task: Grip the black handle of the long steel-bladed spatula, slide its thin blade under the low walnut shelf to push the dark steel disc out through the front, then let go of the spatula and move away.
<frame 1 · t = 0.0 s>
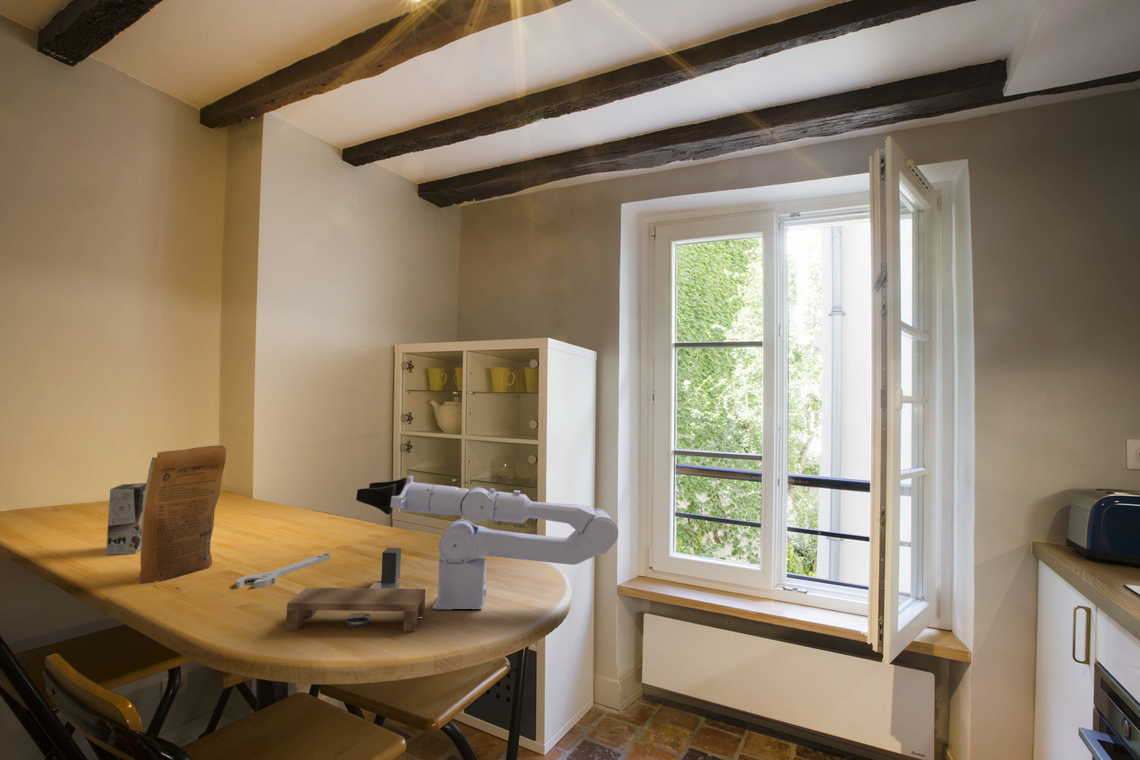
hand: (363, 491, 113), 22 cm above the table, tool horizontal, fingers open, 7 cm apart
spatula: (390, 582, 124), on the table
coffee box: (127, 550, 143), on the table
adjustable wrench: (290, 574, 129), on the table
steel disc: (358, 623, 102), on the table
walnut shelf: (358, 622, 102), on the table
pancake mix bag: (180, 574, 126), on the table
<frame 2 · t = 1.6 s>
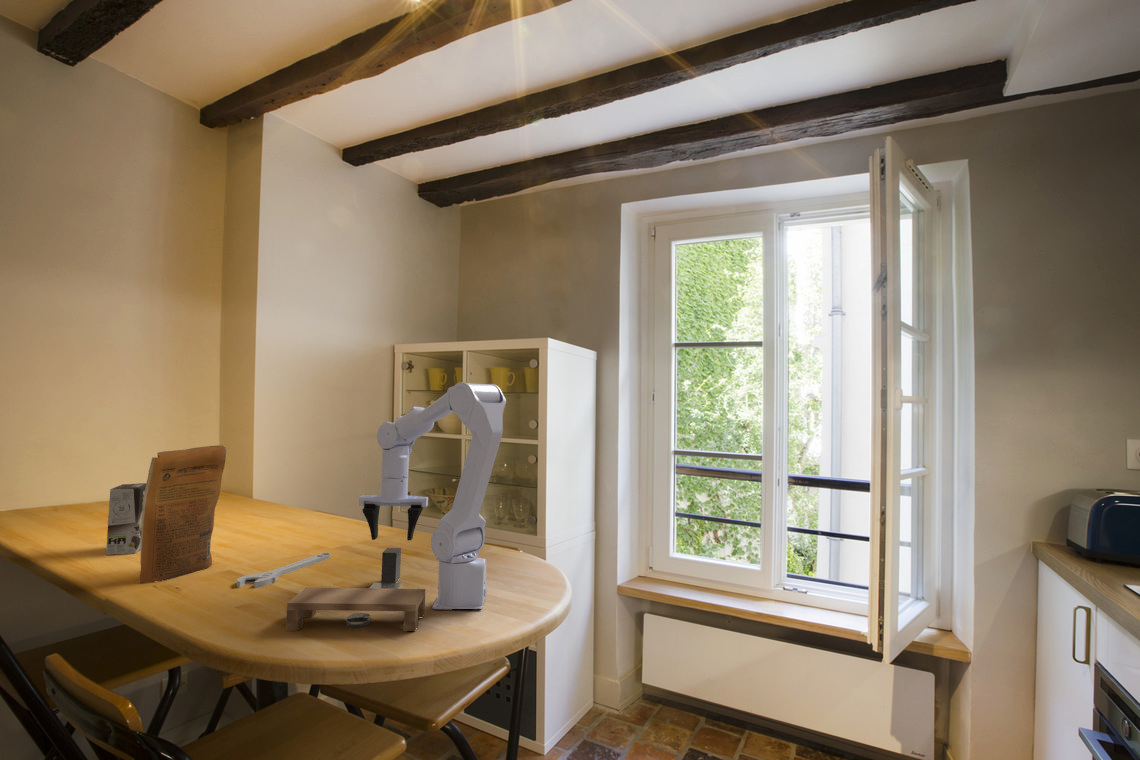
hand: (392, 539, 125), 9 cm above the table, tool pointing down, fingers open, 7 cm apart
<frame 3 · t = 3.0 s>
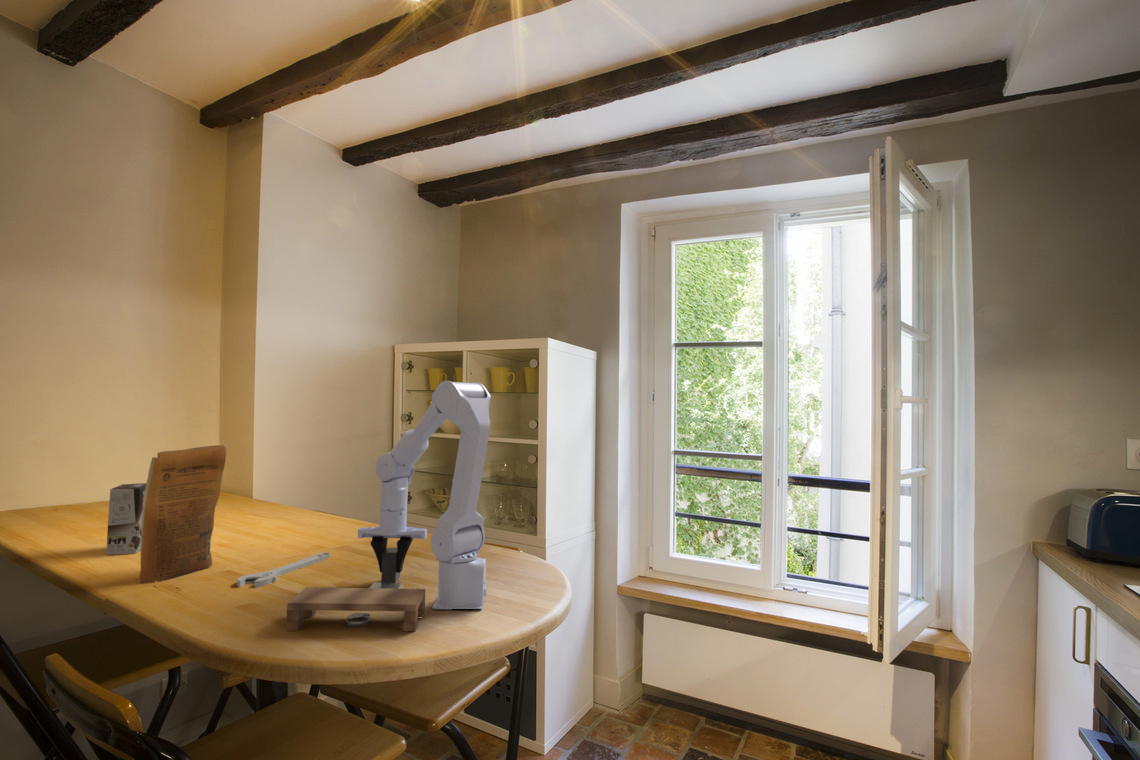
hand: (391, 571, 124), 2 cm above the table, tool pointing down, fingers closed on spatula, 3 cm apart
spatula: (390, 582, 124), on the table, touching gripper
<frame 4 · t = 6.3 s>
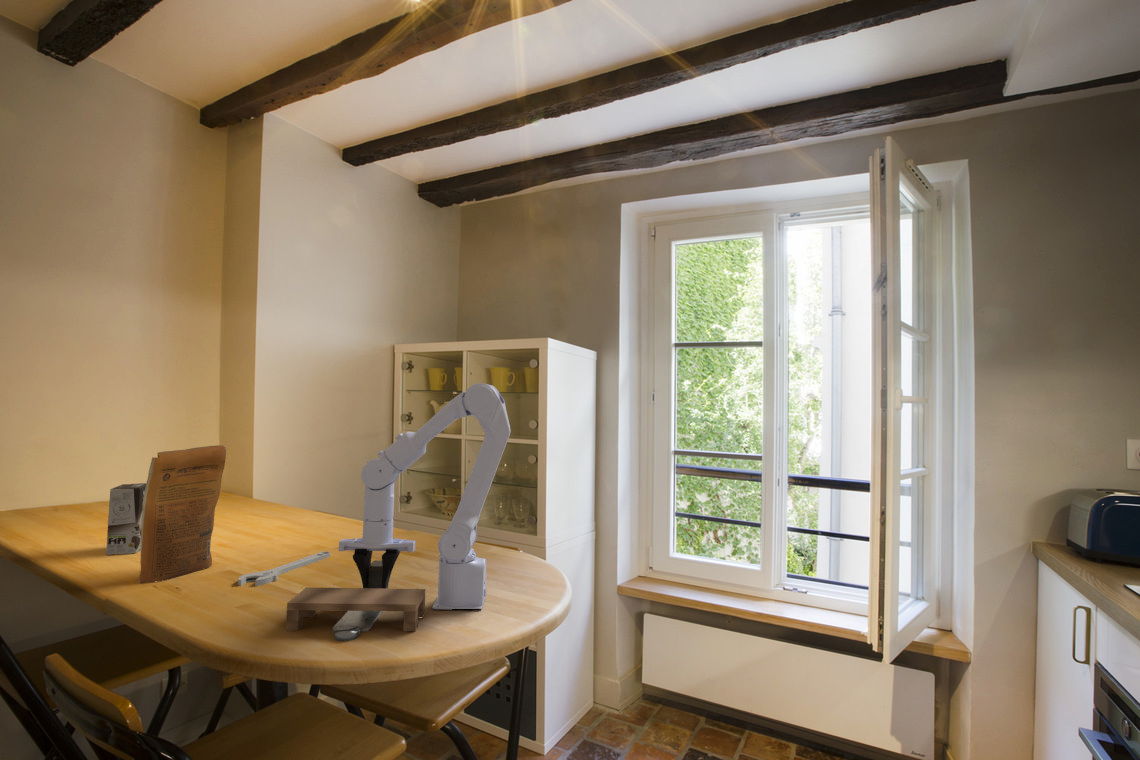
hand: (375, 587, 113), 3 cm above the table, tool pointing down, fingers closed on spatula, 3 cm apart
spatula: (377, 598, 114), on the table, touching gripper, steel disc
steel disc: (346, 636, 96), on the table, touching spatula
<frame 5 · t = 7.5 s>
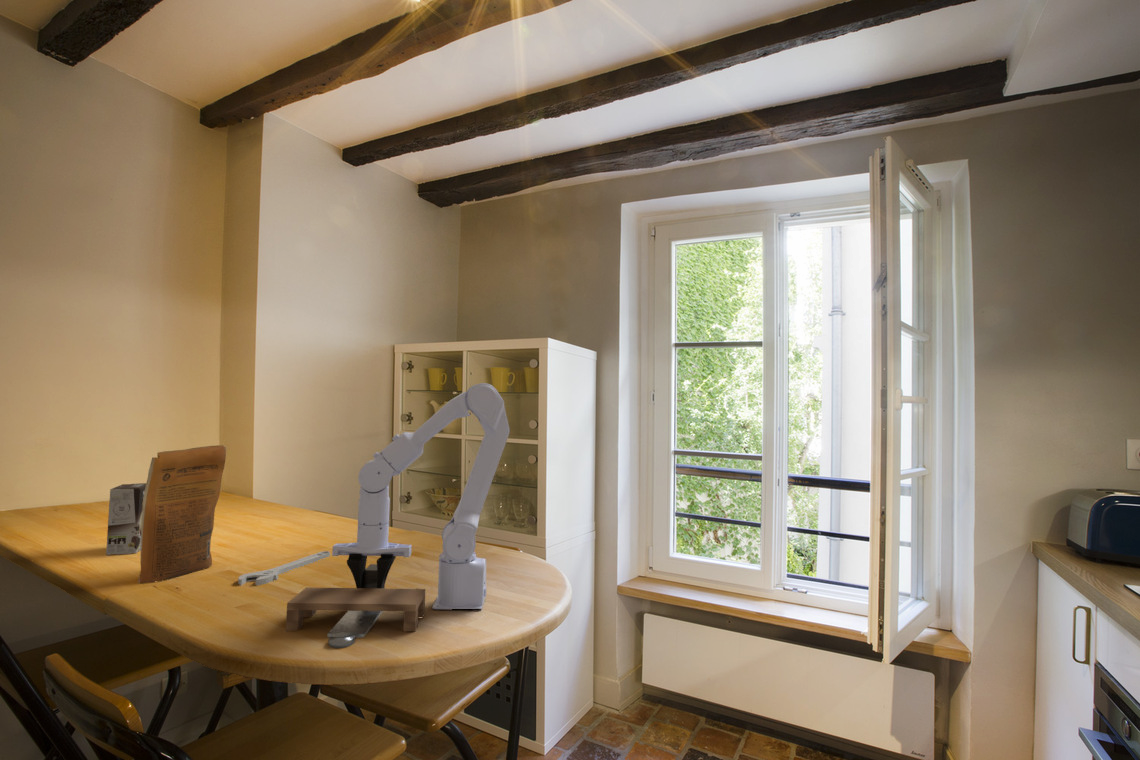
hand: (370, 593, 109), 3 cm above the table, tool pointing down, fingers closed on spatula, 3 cm apart
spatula: (373, 603, 112), on the table, touching gripper, steel disc
steel disc: (341, 644, 94), on the table, touching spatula
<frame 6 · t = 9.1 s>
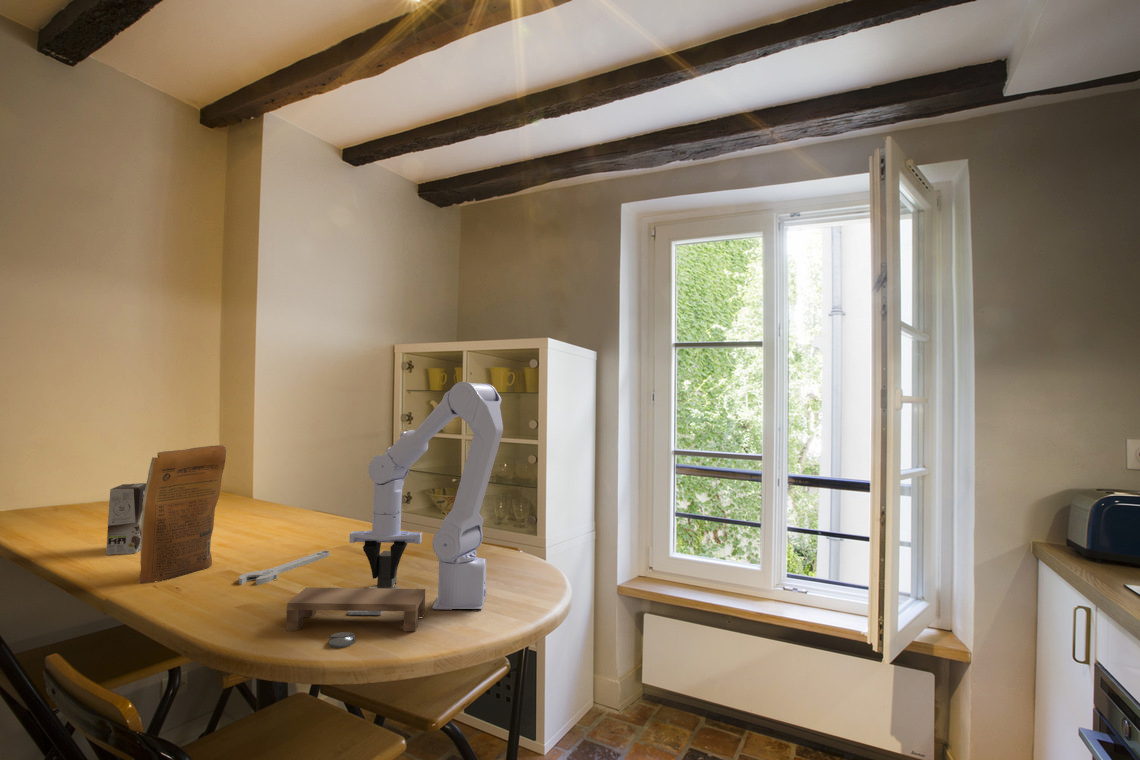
hand: (384, 577, 119), 3 cm above the table, tool pointing down, fingers closed on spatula, 3 cm apart
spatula: (386, 586, 122), on the table, touching gripper
steel disc: (341, 644, 94), on the table
when the fingers open (3 cm above the table, at t = 10.1 s): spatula stays where it is, on the table.
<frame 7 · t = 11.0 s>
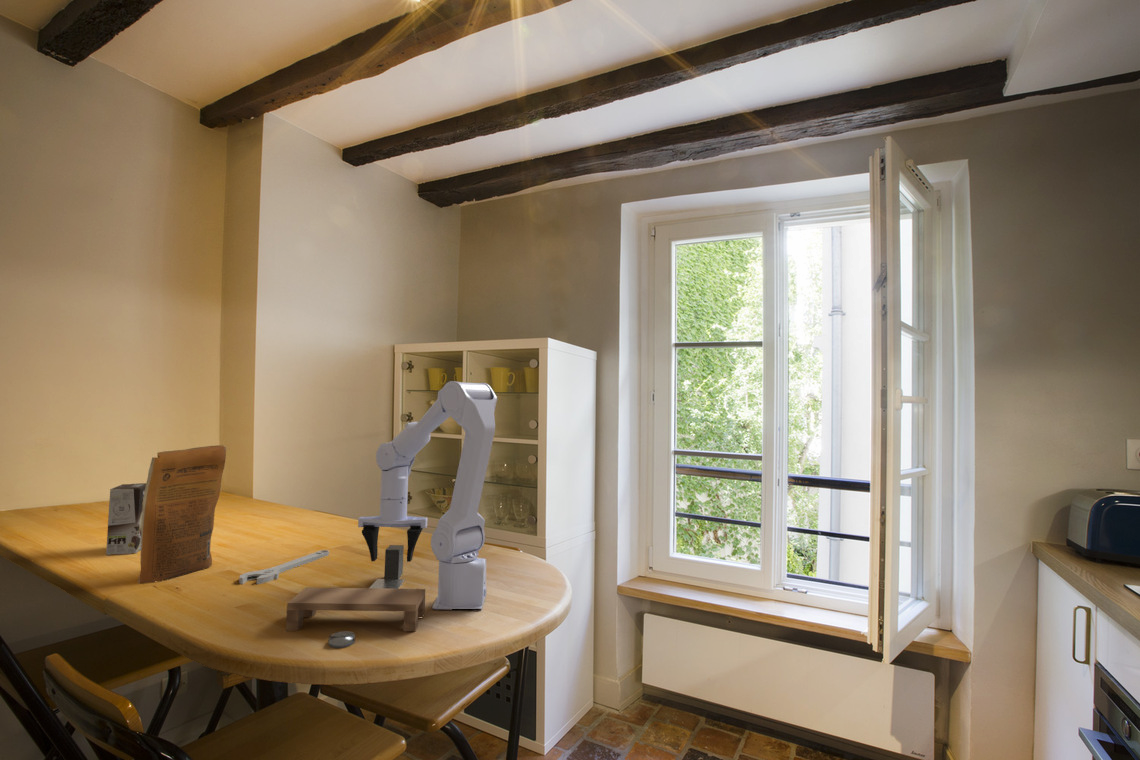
hand: (391, 560, 124), 5 cm above the table, tool pointing down, fingers open, 7 cm apart
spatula: (393, 579, 127), on the table
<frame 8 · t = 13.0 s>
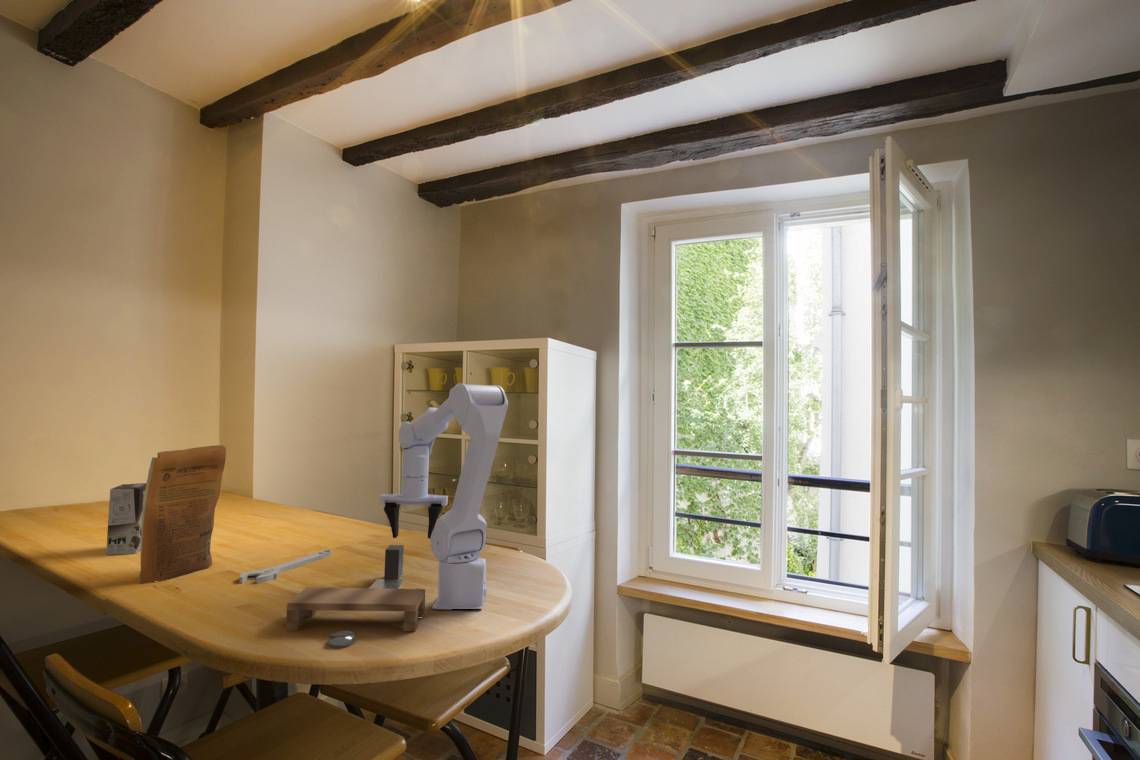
hand: (412, 537, 127), 9 cm above the table, tool pointing down, fingers open, 7 cm apart
at the end: steel disc inside the target area on the table beside the walnut shelf (2.2 cm from its centre), on the table; the gripper is holding nothing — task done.
